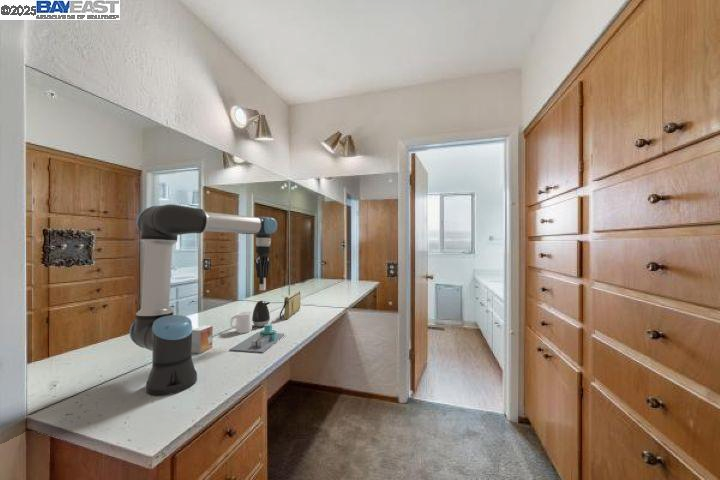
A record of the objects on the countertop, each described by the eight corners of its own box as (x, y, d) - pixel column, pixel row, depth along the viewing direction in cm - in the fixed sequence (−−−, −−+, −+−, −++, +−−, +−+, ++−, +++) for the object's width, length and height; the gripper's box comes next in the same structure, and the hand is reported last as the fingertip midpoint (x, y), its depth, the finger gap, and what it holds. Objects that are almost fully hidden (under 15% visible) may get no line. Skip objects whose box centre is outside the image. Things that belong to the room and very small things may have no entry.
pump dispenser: (266, 328, 167) (266, 302, 167) (249, 328, 167) (249, 302, 167) (272, 323, 177) (272, 299, 177) (255, 323, 177) (256, 299, 177)
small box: (200, 353, 128) (200, 330, 128) (189, 352, 129) (189, 329, 129) (212, 347, 136) (213, 325, 136) (202, 346, 137) (202, 324, 137)
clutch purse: (292, 309, 213) (292, 289, 214) (301, 309, 213) (301, 290, 213) (277, 320, 184) (277, 297, 184) (287, 320, 183) (287, 297, 183)
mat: (263, 353, 129) (263, 351, 129) (229, 350, 131) (229, 349, 131) (286, 334, 154) (286, 333, 154) (257, 333, 157) (257, 332, 157)
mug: (226, 333, 157) (226, 315, 157) (233, 329, 165) (233, 311, 165) (248, 333, 157) (248, 315, 157) (254, 329, 165) (254, 311, 165)
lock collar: (262, 338, 147) (262, 324, 147) (276, 339, 146) (276, 324, 146) (259, 339, 144) (260, 325, 145) (274, 340, 143) (274, 326, 143)
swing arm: (267, 336, 149) (267, 331, 149) (270, 337, 148) (270, 331, 149) (251, 347, 134) (251, 341, 134) (255, 347, 134) (255, 341, 134)
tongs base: (272, 335, 151) (272, 330, 151) (277, 335, 151) (277, 330, 151) (254, 347, 134) (254, 341, 134) (261, 348, 133) (261, 341, 133)
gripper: (263, 245, 144) (262, 292, 143) (275, 246, 157) (274, 288, 156) (250, 245, 145) (249, 291, 145) (263, 245, 158) (262, 288, 158)
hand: (262, 290), depth 150 cm, fingers closed
